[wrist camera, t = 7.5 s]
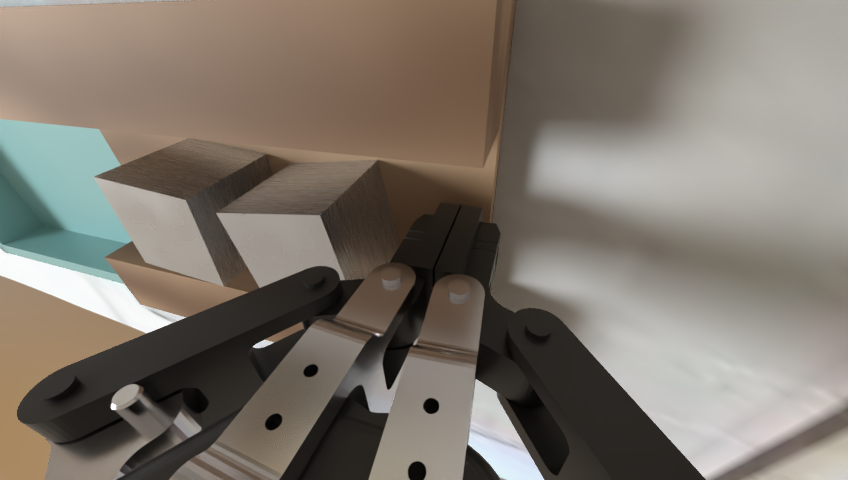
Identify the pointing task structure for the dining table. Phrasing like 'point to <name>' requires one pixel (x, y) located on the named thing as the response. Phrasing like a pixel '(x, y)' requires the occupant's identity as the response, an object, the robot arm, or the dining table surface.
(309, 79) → the walnut slot board
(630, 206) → the dining table surface
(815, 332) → the dining table surface
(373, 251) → the metal block
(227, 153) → the metal block
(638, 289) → the dining table surface
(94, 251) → the teal tray
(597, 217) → the dining table surface
